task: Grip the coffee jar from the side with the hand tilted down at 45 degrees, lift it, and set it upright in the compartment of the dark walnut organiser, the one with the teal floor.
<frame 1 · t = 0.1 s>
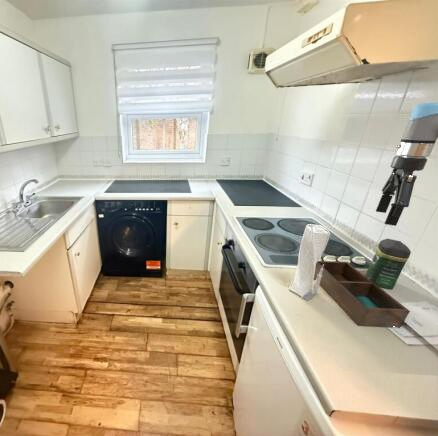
hand: (385, 218, 84), 27 cm above the worktop, tool pointing down, fingers open, 13 cm apart
coffee jar: (376, 285, 92), on the worktop
skyscraper: (299, 292, 89), on the worktop
organiser: (348, 297, 86), on the worktop
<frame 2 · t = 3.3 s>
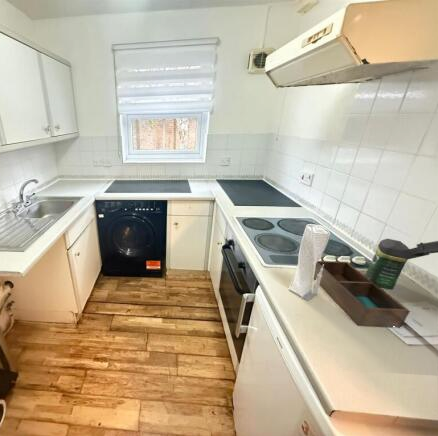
hand: (427, 256, 75), 20 cm above the worktop, tool tilted 45°, fingers open, 13 cm apart
nothing on the worktop moved.
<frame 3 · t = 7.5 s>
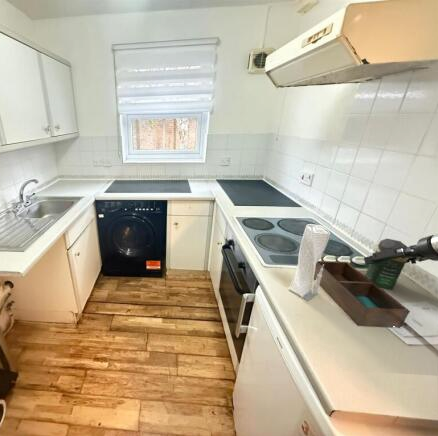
hand: (378, 261, 92), 9 cm above the worktop, tool tilted 45°, fingers closed on coffee jar, 9 cm apart
coffee jar: (377, 285, 92), on the worktop, touching gripper
everything else where it was.
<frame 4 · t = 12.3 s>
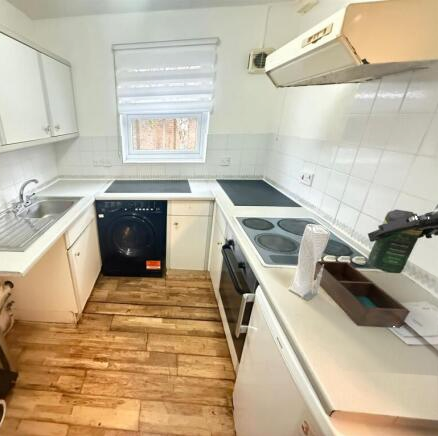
hand: (385, 238, 77), 24 cm above the worktop, tool tilted 45°, fingers closed on coffee jar, 9 cm apart
coffee jar: (383, 266, 77), point 15 cm above the worktop, touching gripper
everything else where it was.
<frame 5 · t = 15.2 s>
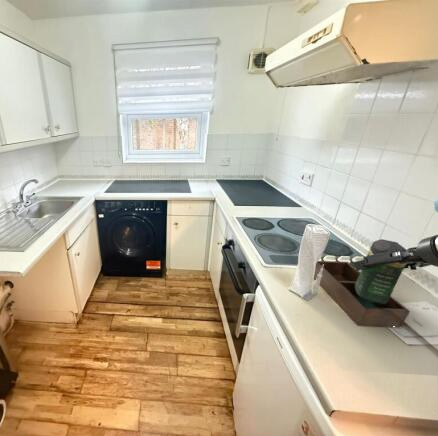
hand: (371, 266, 77), 15 cm above the worktop, tool tilted 45°, fingers closed on coffee jar, 9 cm apart
coffee jar: (369, 295, 77), point 7 cm above the worktop, touching gripper
everything else where it was.
when the fingers open (10 cm above the worktop, at t = 17.3 s): coffee jar stays where it is, resting on organiser.
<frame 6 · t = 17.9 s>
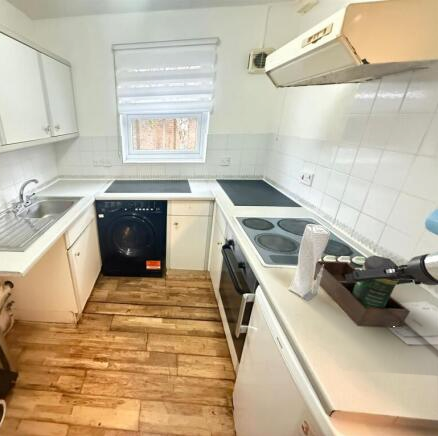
hand: (368, 279, 78), 11 cm above the worktop, tool tilted 45°, fingers open, 13 cm apart
coffee jar: (363, 308, 79), point 1 cm above the worktop, touching organiser
everything else where it was.
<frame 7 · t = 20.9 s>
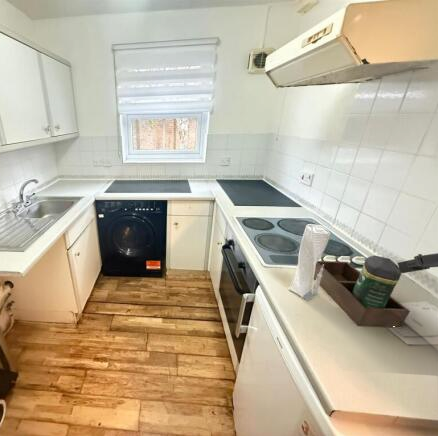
hand: (427, 268, 63), 23 cm above the worktop, tool tilted 45°, fingers open, 13 cm apart
nothing on the worktop moved.
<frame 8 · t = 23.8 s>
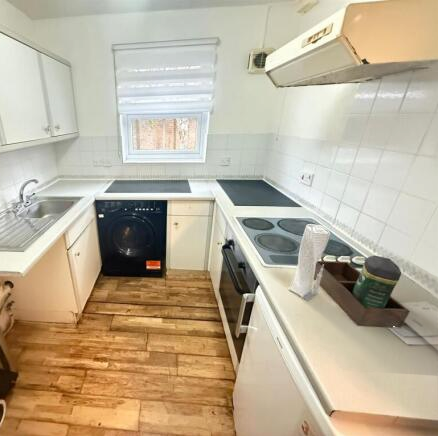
nothing on the worktop moved.
at the end: coffee jar 0.0 cm from the target spot on the organiser, point 0.8 cm above the organiser's base; coffee jar tilted 0°; the gripper is holding nothing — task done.
